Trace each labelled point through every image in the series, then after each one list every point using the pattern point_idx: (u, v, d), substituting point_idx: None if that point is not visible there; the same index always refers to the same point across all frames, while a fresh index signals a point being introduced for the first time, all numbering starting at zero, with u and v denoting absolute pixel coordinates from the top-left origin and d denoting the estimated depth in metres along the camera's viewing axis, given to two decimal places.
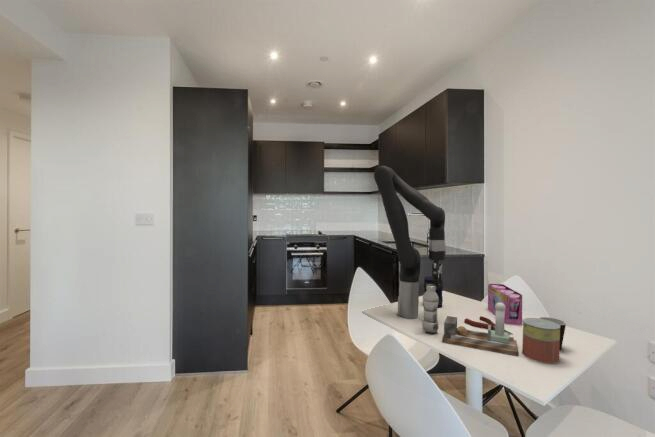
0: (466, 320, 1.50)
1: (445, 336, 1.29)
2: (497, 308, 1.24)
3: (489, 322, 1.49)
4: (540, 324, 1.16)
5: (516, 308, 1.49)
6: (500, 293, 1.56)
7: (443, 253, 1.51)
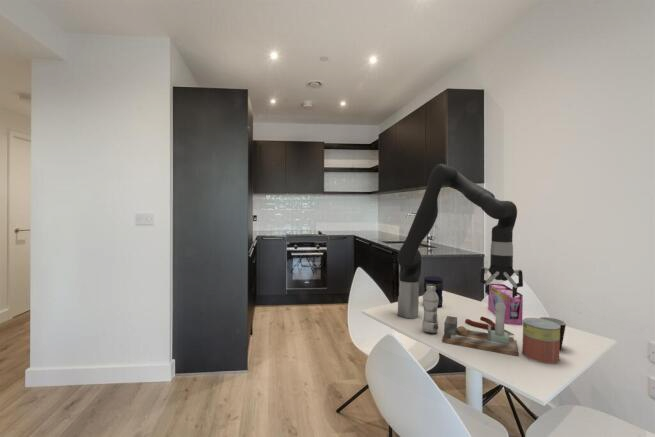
0: (467, 320, 1.50)
1: (445, 336, 1.29)
2: (497, 308, 1.24)
3: (490, 322, 1.48)
4: (540, 324, 1.16)
5: (516, 308, 1.50)
6: (500, 293, 1.56)
7: None
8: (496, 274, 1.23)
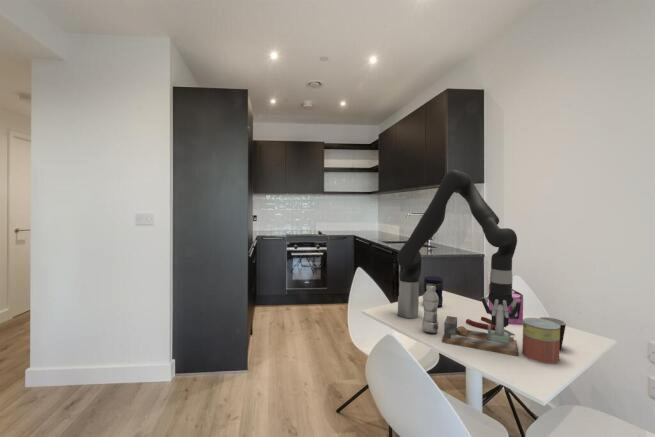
0: (468, 321, 1.49)
1: (445, 336, 1.29)
2: (497, 308, 1.24)
3: (491, 323, 1.48)
4: (539, 324, 1.16)
5: None
6: None
7: None
8: (495, 302, 1.23)
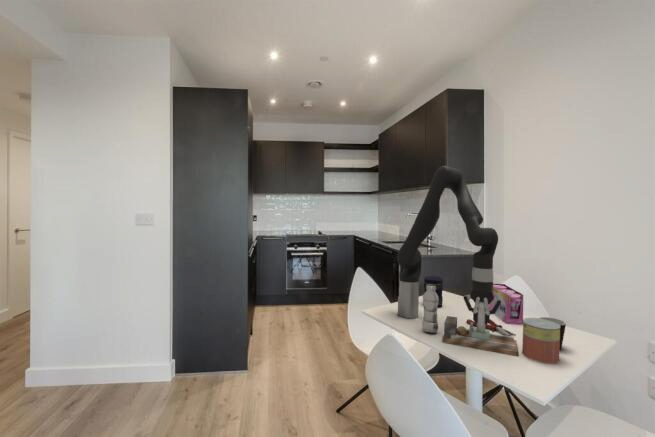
0: (468, 321, 1.49)
1: (445, 336, 1.29)
2: (478, 306, 1.26)
3: (491, 323, 1.47)
4: (540, 324, 1.16)
5: (517, 308, 1.50)
6: (501, 293, 1.56)
7: None
8: (477, 299, 1.26)
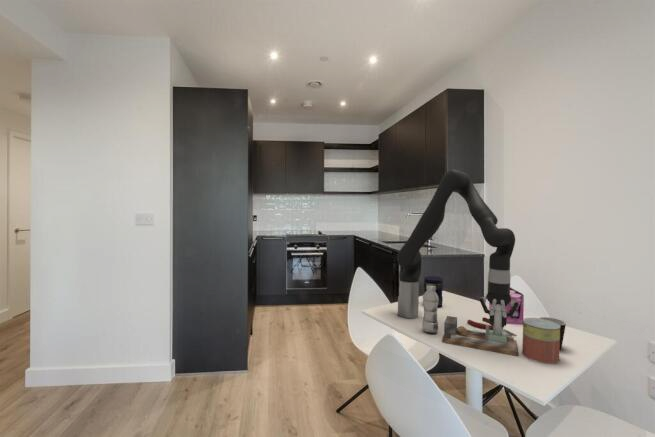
0: (469, 321, 1.48)
1: (445, 336, 1.29)
2: (495, 308, 1.24)
3: None
4: (540, 324, 1.16)
5: (517, 308, 1.50)
6: None
7: None
8: (493, 301, 1.24)
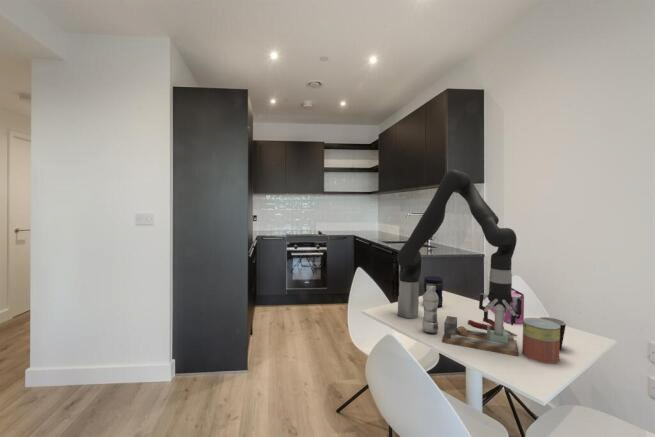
0: (470, 321, 1.48)
1: (445, 336, 1.29)
2: (496, 308, 1.24)
3: (493, 323, 1.47)
4: (540, 324, 1.16)
5: None
6: None
7: None
8: (495, 301, 1.23)
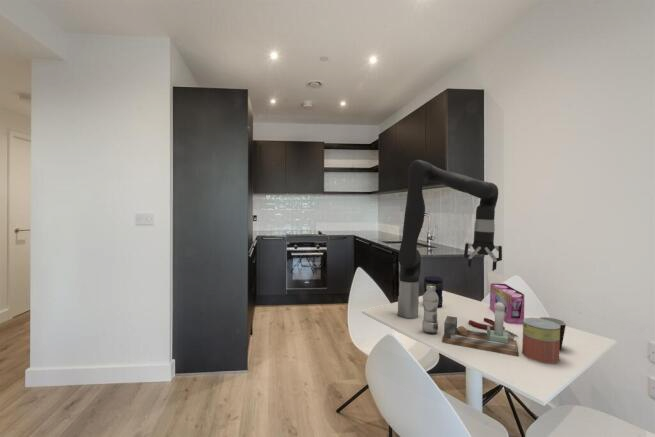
0: (470, 322, 1.48)
1: (445, 336, 1.29)
2: (496, 308, 1.24)
3: (493, 324, 1.46)
4: (540, 324, 1.16)
5: (518, 307, 1.50)
6: (502, 292, 1.57)
7: None
8: (478, 249, 1.35)
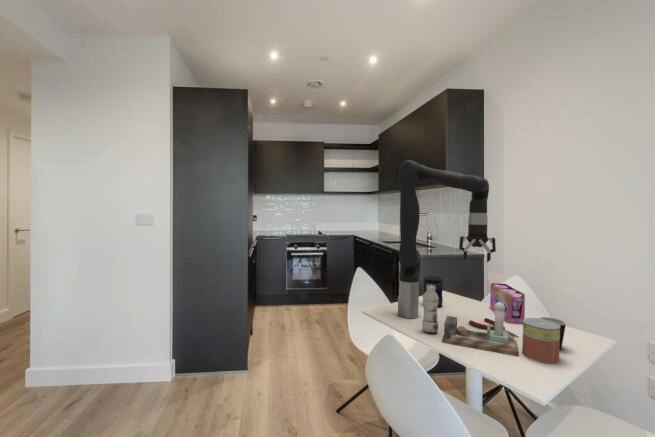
0: (470, 322, 1.48)
1: (445, 336, 1.29)
2: (496, 308, 1.24)
3: (494, 324, 1.46)
4: (540, 324, 1.16)
5: (518, 307, 1.51)
6: (502, 292, 1.57)
7: None
8: (473, 241, 1.40)
